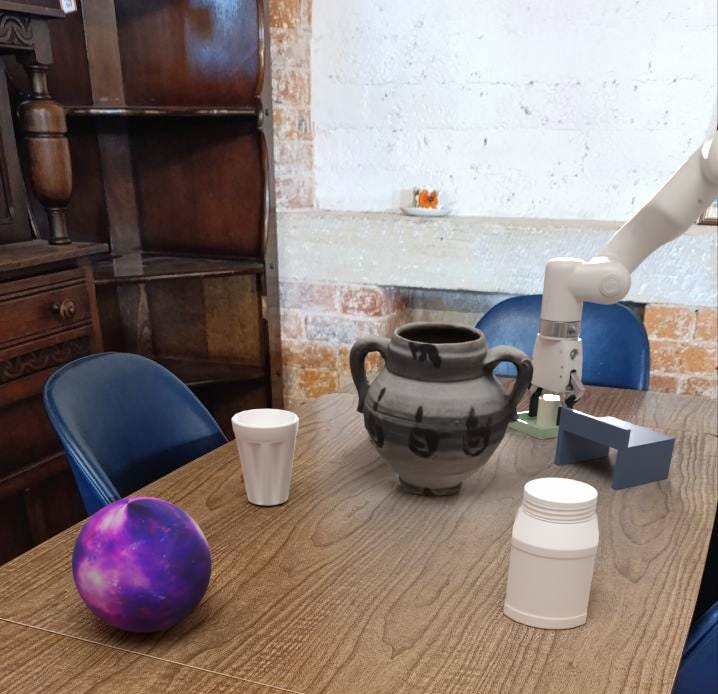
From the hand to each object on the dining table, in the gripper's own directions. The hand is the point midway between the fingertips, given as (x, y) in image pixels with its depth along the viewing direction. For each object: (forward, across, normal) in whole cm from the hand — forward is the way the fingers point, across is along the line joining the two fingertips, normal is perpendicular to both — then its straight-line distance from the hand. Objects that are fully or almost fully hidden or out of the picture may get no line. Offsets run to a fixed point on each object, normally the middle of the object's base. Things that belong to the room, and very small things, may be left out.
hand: (548, 420), depth 173 cm
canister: (+1, 0, 0) cm, 1 cm away
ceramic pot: (+1, -17, +40) cm, 44 cm away
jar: (+2, -58, +52) cm, 78 cm away
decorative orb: (+1, -39, +95) cm, 103 cm away
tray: (+1, 0, 0) cm, 1 cm away
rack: (+1, -25, +8) cm, 26 cm away
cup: (+1, -10, +66) cm, 67 cm away
